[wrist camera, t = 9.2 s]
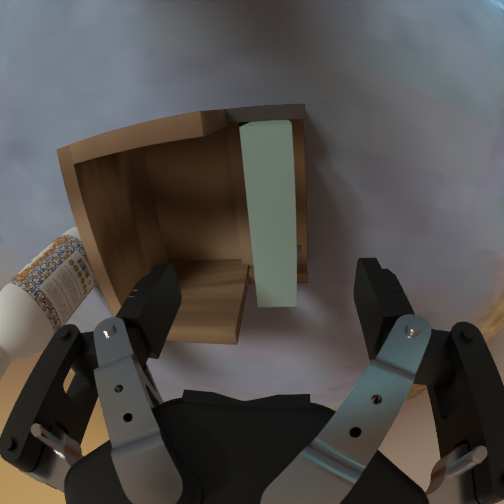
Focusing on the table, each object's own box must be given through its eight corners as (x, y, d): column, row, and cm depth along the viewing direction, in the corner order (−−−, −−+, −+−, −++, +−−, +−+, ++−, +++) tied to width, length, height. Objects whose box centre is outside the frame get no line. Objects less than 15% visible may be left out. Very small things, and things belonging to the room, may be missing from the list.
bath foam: (82, 213, 26) (-50, 337, 8) (120, 260, 28) (16, 408, 11) (58, 243, 28) (-46, 353, 11) (92, 284, 31) (5, 407, 13)
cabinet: (132, 127, 21) (56, 149, 12) (300, 104, 19) (316, 102, 10) (164, 267, 28) (123, 335, 19) (305, 264, 26) (313, 343, 18)
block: (255, 119, 20) (239, 127, 12) (292, 117, 20) (301, 123, 12) (265, 242, 26) (257, 307, 18) (298, 240, 25) (303, 306, 17)
